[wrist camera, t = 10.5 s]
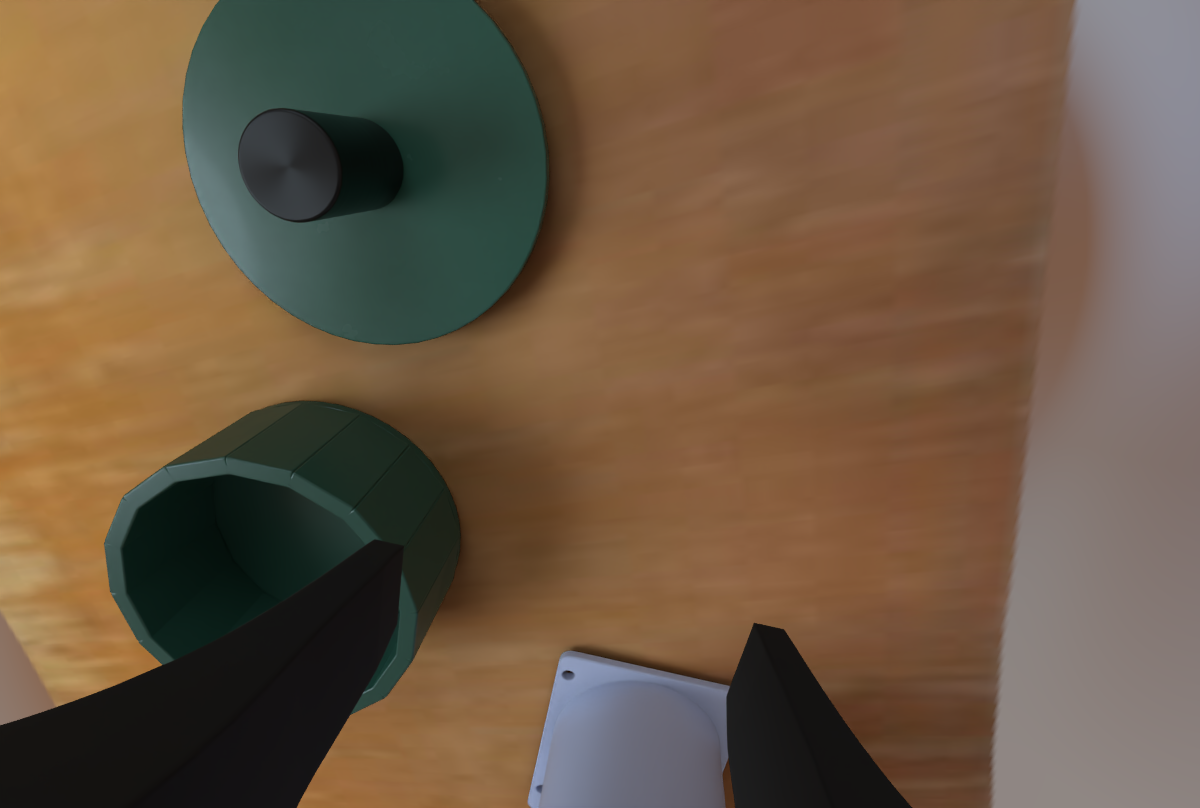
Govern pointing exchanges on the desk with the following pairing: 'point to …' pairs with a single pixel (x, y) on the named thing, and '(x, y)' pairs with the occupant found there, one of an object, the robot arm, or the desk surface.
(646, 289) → the desk surface
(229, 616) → the pot
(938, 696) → the desk surface
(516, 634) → the desk surface
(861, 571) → the desk surface
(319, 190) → the lid
